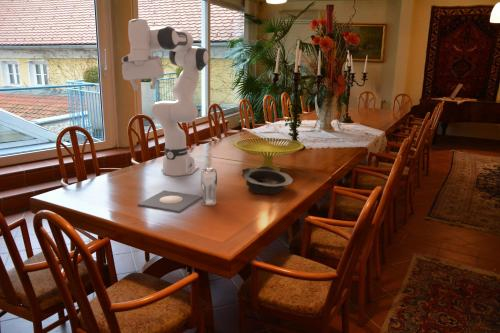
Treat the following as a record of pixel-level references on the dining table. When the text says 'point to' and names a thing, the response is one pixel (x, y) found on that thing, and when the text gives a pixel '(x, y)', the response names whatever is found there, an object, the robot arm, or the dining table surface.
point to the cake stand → (268, 149)
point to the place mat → (170, 201)
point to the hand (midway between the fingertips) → (144, 89)
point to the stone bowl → (265, 180)
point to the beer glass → (209, 185)
